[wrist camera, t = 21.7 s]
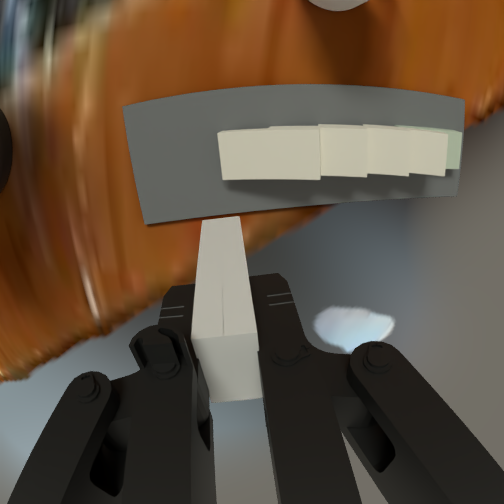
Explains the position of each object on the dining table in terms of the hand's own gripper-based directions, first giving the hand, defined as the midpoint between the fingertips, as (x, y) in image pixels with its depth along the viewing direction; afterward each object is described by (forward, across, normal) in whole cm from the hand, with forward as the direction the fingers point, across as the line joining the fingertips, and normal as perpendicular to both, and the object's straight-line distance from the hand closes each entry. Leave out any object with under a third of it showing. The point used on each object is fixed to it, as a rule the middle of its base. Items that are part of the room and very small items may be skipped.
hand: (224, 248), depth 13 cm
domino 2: (+21, +5, 0) cm, 21 cm away
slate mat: (+22, +11, 0) cm, 25 cm away
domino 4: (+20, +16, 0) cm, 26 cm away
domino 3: (+21, +10, 0) cm, 23 cm away
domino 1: (+21, 0, 0) cm, 21 cm away
